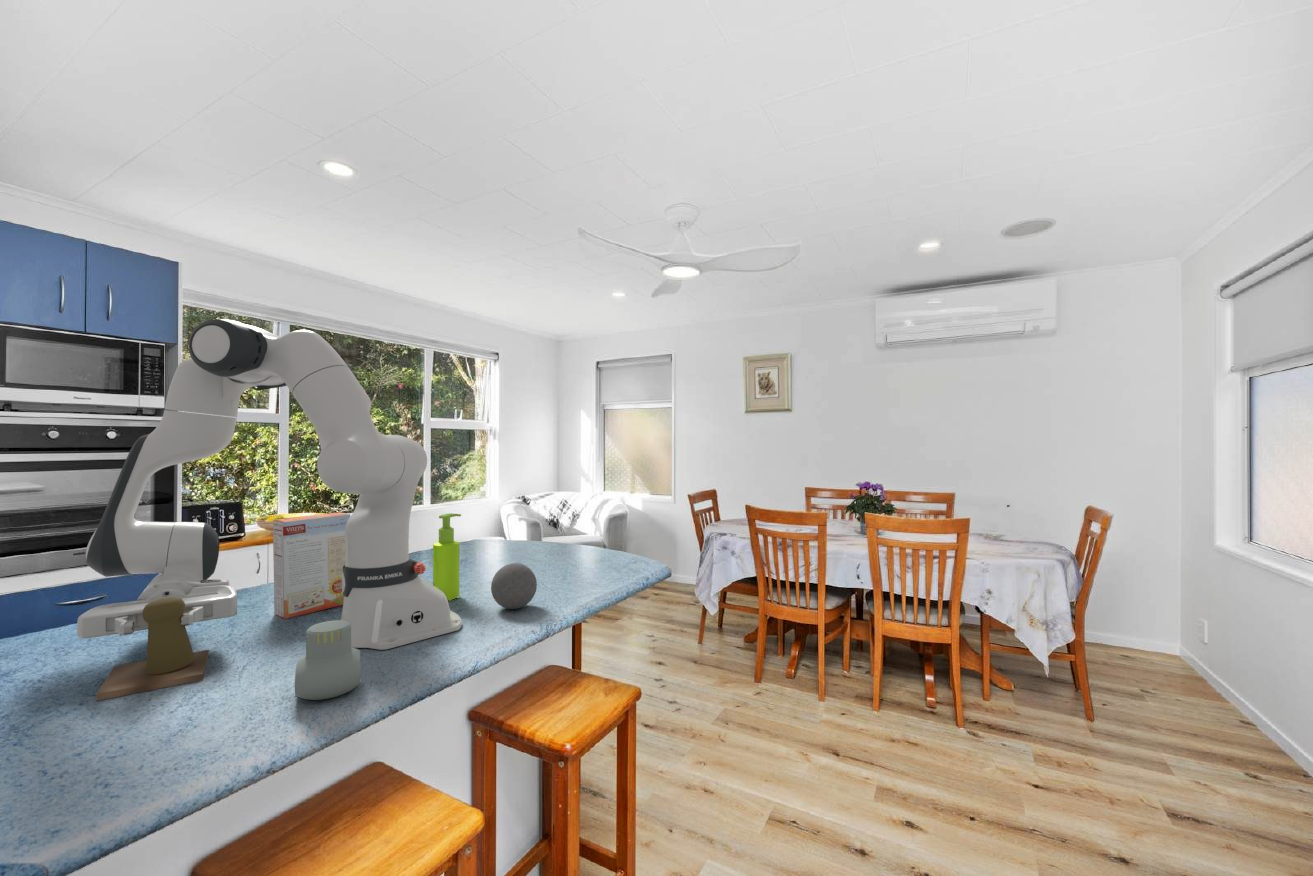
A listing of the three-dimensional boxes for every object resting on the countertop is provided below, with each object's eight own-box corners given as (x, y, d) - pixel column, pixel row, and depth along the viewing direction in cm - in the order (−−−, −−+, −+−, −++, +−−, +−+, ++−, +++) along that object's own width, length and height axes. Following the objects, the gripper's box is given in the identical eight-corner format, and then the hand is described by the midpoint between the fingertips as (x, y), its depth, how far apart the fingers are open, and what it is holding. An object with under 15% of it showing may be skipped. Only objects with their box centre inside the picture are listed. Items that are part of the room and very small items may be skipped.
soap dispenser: (467, 595, 135) (467, 513, 135) (445, 602, 128) (446, 516, 128) (449, 592, 137) (449, 511, 137) (427, 599, 131) (427, 515, 131)
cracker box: (339, 599, 131) (339, 511, 131) (352, 603, 128) (352, 513, 127) (272, 614, 120) (272, 518, 120) (283, 620, 116) (283, 520, 116)
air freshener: (299, 683, 87) (299, 620, 87) (359, 672, 91) (359, 611, 91) (293, 714, 77) (293, 642, 77) (360, 700, 81) (360, 632, 81)
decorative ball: (488, 604, 127) (488, 561, 127) (531, 599, 131) (531, 557, 131) (494, 617, 118) (494, 571, 118) (541, 611, 122) (541, 566, 122)
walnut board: (208, 655, 97) (208, 649, 97) (202, 680, 88) (202, 673, 88) (114, 672, 91) (114, 666, 91) (96, 700, 81) (96, 694, 81)
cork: (139, 678, 86) (131, 609, 85) (153, 663, 91) (145, 598, 91) (189, 667, 89) (181, 600, 88) (199, 653, 94) (192, 590, 94)
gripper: (87, 595, 94) (63, 618, 82) (238, 577, 105) (235, 595, 94) (87, 632, 94) (63, 660, 82) (239, 610, 105) (236, 632, 94)
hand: (157, 625), depth 88 cm, fingers open, 6 cm apart
